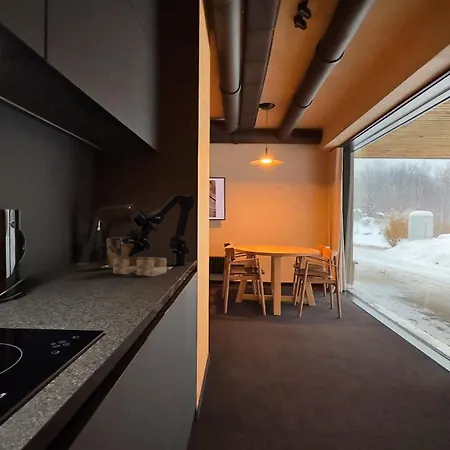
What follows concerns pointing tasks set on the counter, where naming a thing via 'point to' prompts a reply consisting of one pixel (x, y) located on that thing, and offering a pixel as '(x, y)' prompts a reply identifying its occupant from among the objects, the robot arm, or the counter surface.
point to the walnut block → (126, 251)
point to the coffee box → (113, 250)
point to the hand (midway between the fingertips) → (126, 256)
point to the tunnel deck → (140, 266)
